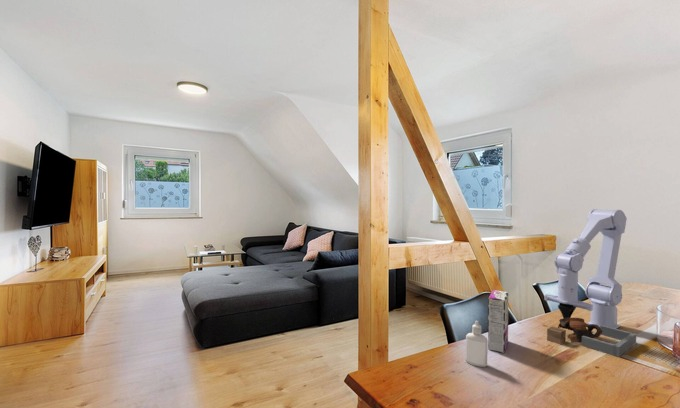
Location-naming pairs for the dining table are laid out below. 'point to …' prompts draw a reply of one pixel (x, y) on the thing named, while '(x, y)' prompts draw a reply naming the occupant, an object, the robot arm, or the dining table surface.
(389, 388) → the dining table surface
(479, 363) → the eye dropper bottle
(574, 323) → the pottery mug
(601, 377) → the dining table surface
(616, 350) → the corral
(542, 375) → the dining table surface
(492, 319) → the candy bar box
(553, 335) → the walnut block
